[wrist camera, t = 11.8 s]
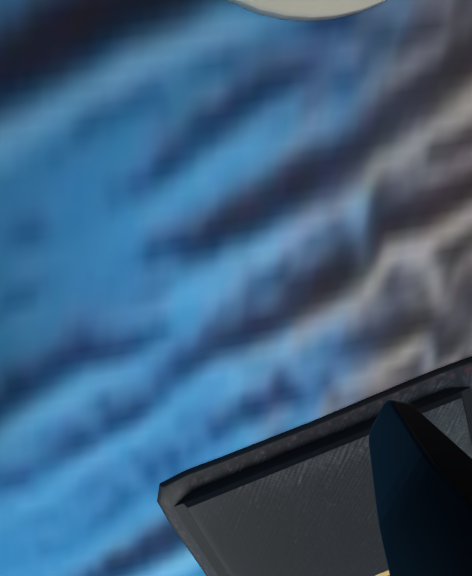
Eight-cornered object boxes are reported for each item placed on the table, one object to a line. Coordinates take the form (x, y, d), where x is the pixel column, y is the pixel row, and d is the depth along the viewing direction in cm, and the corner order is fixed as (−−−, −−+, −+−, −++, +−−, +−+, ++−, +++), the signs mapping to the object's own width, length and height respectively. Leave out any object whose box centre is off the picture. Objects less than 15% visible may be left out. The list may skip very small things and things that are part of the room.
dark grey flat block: (500, 364, 22) (522, 548, 27) (476, 346, 23) (502, 523, 29) (142, 499, 22) (238, 653, 28) (145, 471, 24) (235, 621, 29)
